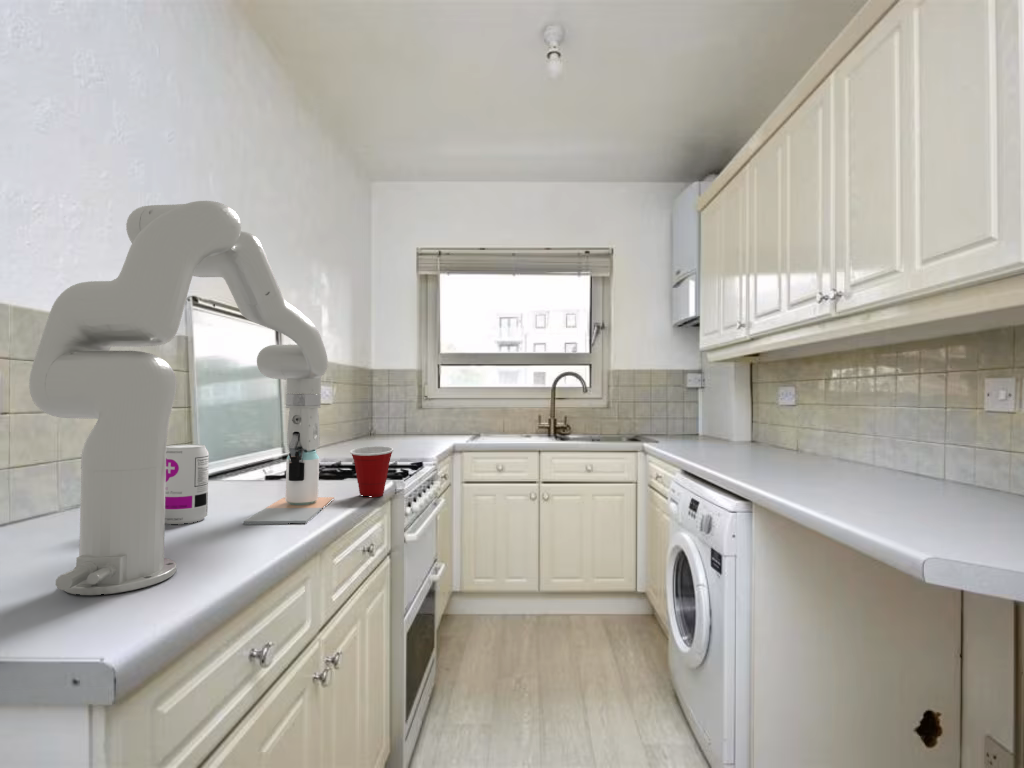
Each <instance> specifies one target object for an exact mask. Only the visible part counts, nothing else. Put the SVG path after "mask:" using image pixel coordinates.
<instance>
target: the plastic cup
mask: <svg viewBox="0 0 1024 768" xmlns="http://www.w3.org/2000/svg"><path fill="white" fill-rule="evenodd" d="M393 452H394V448H393V447H391V446H384V445H383V446H382V445H381V446H378V445H374V446H362V447H357V448H353V449H351V450H349V453H350V454H351V456H352V460H353V463H354V467H355V475H356V479H357V486H358V492H359V496H360V495H363V496H372V497H371V498H378V497H382V496H384V492H385V487H386V482H387V479H388V473H389V467H390V462H391V458H392V453H393Z"/></svg>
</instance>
